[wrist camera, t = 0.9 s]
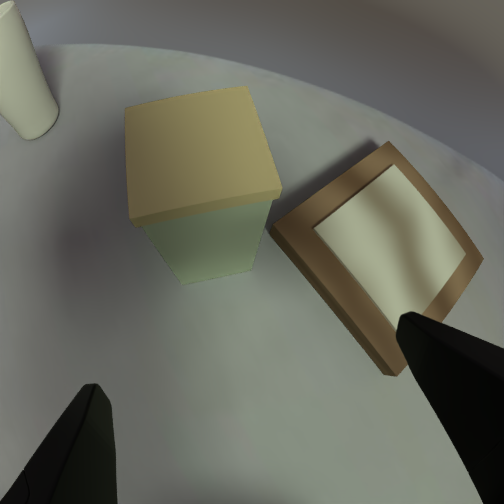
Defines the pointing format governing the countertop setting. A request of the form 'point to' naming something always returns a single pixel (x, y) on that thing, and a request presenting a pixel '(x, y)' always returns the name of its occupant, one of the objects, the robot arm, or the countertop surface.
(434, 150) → the countertop surface
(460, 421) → the robot arm
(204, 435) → the countertop surface
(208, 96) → the tea tin
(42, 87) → the drinking glass
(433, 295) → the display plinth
